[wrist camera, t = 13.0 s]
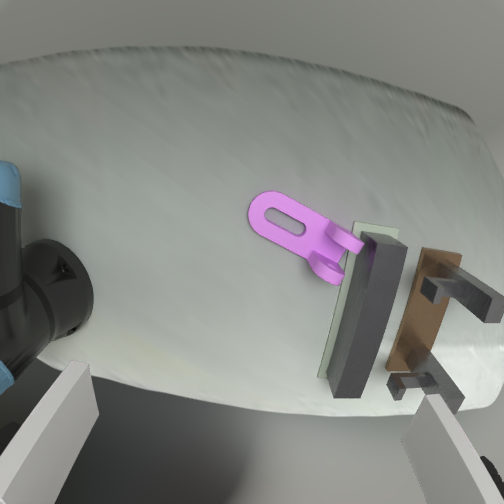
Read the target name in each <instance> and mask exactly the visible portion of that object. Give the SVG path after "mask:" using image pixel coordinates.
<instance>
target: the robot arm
mask: <svg viewBox="0 0 504 504" xmlns="http://www.w3.org/2000/svg"><path fill="white" fill-rule="evenodd" d="M21 209H22V203H21V197H20V173H19V170H18V168H17V167H16V166H15V165H14V164H13V163H11V162H7V161H2V160H0V395H1V394H2V393H3V392H4V391H5V390H6V389H7V388H8V387H9V386H11V385H13V384H14V382H15V381H16V380H17V378H18V377H19V376H20V375H21V374H22V373H23V371H24V370H25V369H26V368H27V367H28V366H29V365H30V363H31V362H32V361H33V360H34V359H35V358H36V357H37V356H38V355H39V353H40V352H41V351H42V350H43V349H44V348H45V347H46V346H47V345H48V344H49V343H50V342H51V341H54V340H57V339H60V338H63V337H66V336H68V335H71V334H73V333H75V332H76V331H77V330H79V329H80V328H81V327H82V326H83V324H84V323H85V322H86V321H87V320H88V318H89V316H90V314H91V311H92V307H93V290H92V285H91V282H90V279H89V276H88V274H87V272H86V270H85V268H84V266H83V265H82V263H81V262H80V260H79V259H78V258H77V256H76V255H75V254H74V253H73V252H72V251H71V250H70V249H68V248H67V247H66V246H64V245H62V244H61V243H59V242H56V241H53V240H47V239H43V240H38V241H35V242H33V243H31V244H29V245H27V246H25V247H24V248H23V249H21ZM98 416H99V412H98V408H97V403H96V399H95V395H94V390H93V385H92V380H91V374H90V369H89V364H85V363H81V362H78V361H74V360H71V362H70V363H69V364H68V365H67V367H66V368H65V369H64V370H63V372H62V373H61V374H60V376H59V377H58V378H57V379H56V381H55V382H54V383H53V385H52V386H51V387H50V388H49V390H48V391H47V392H46V394H45V395H44V396H43V398H42V399H41V400H40V402H39V403H38V404H37V406H36V407H35V408H34V410H33V411H32V412H31V414H30V415H29V417H28V418H27V419H26V421H25V422H24V423H23V425H20V424H18V423H16V422H14V421H12V422H10V423H9V424H7V425H5V426H4V427H2V428H1V429H0V504H54V503H55V501H56V499H57V496H58V494H59V492H60V490H61V488H62V486H63V484H64V482H65V480H66V478H67V476H68V474H69V472H70V470H71V468H72V466H73V464H74V462H75V460H76V458H77V456H78V454H79V452H80V450H81V448H82V446H83V444H84V442H85V440H86V438H87V437H88V435H89V433H90V431H91V429H92V427H93V425H94V423H95V421H96V420H97V418H98ZM401 442H402V444H403V446H404V449H405V451H406V453H407V456H408V458H409V460H410V463H411V465H412V467H413V470H414V472H415V475H416V477H417V479H418V482H419V484H420V487H421V489H422V492H423V494H424V496H425V499H426V502H427V504H504V482H502V479H501V477H500V475H498V472H497V470H496V469H495V467H494V465H493V464H492V463H491V462H490V461H489V460H488V459H487V458H486V457H485V456H481V457H479V456H478V454H477V452H476V451H475V449H474V448H473V446H472V444H471V442H470V441H469V439H468V438H467V436H466V434H465V433H464V431H463V430H462V428H461V426H460V425H459V423H458V422H457V420H456V419H455V417H454V415H453V414H452V412H451V411H450V409H449V408H448V406H447V405H446V403H445V402H444V400H443V399H442V397H441V396H440V394H432V395H425V396H424V398H423V400H422V402H421V404H420V406H419V408H418V410H417V412H416V414H415V415H414V417H413V419H412V421H411V423H410V425H409V426H408V428H407V430H406V431H405V433H404V435H403V437H402V438H401Z"/></svg>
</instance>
